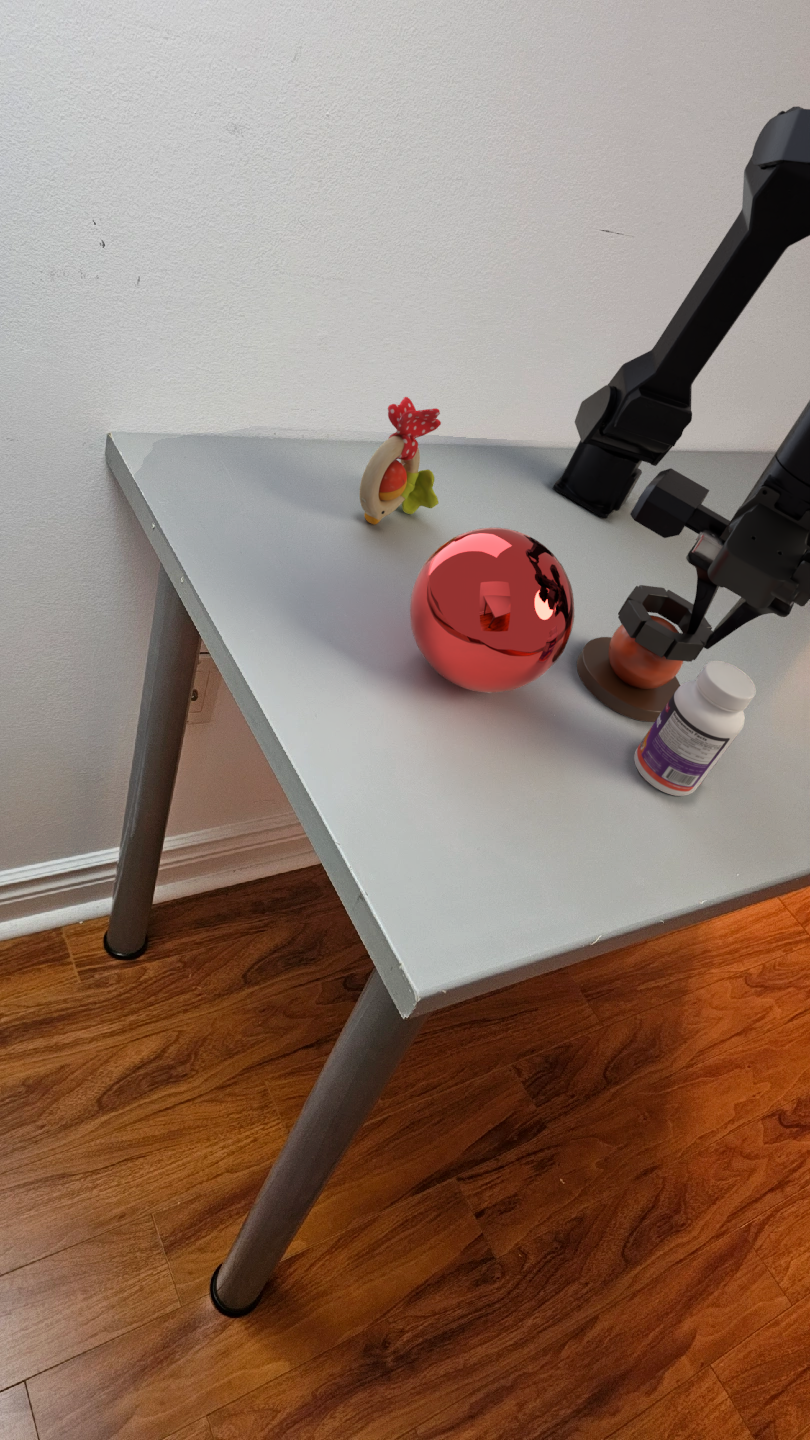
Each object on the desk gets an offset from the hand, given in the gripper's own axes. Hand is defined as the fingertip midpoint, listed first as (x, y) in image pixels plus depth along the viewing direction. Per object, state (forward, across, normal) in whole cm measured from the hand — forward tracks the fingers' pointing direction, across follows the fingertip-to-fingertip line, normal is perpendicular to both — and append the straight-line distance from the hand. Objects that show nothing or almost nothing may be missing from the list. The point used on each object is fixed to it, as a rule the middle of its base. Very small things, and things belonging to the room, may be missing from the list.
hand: (697, 641), depth 83 cm
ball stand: (+7, -3, 0) cm, 7 cm away
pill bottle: (+7, +3, -8) cm, 11 cm away
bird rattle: (+7, -29, +3) cm, 30 cm away
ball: (+7, -14, -11) cm, 19 cm away
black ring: (+1, -3, 0) cm, 3 cm away
